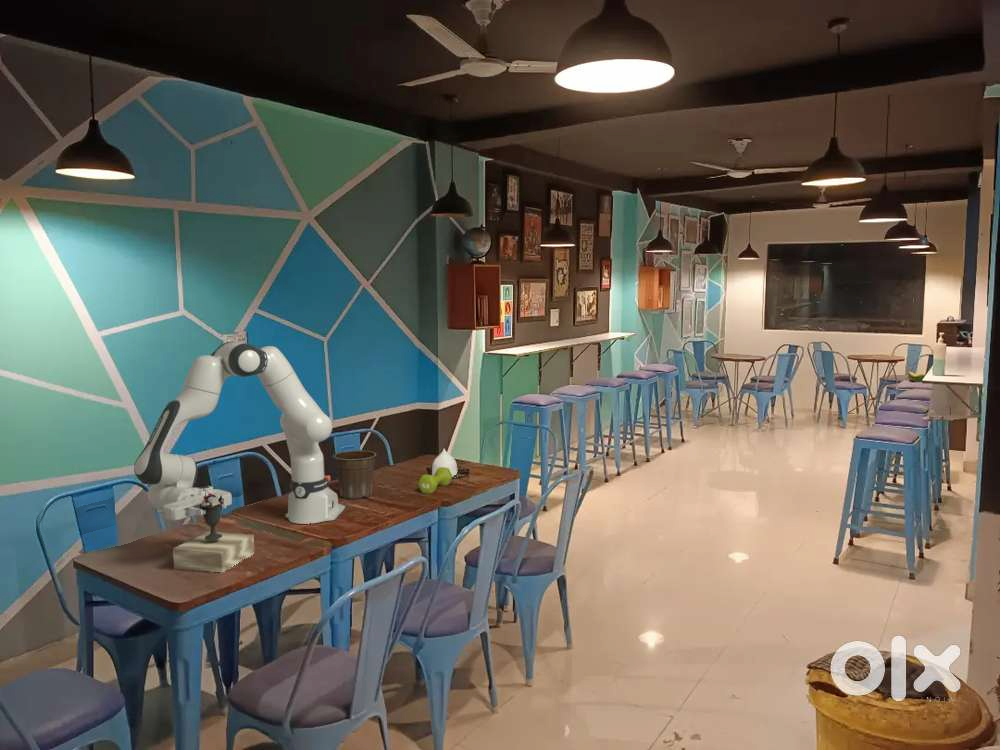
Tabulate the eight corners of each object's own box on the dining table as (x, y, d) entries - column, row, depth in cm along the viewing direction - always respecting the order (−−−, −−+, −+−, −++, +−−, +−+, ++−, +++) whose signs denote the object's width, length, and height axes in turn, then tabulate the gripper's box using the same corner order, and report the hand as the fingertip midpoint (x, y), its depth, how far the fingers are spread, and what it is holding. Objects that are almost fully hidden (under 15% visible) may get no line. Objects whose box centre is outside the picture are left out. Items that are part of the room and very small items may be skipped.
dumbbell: (434, 495, 290) (433, 477, 290) (416, 493, 294) (416, 475, 293) (454, 485, 305) (454, 467, 304) (437, 483, 308) (436, 466, 308)
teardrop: (439, 471, 328) (438, 444, 326) (462, 473, 323) (461, 446, 322) (427, 477, 318) (426, 449, 316) (450, 479, 313) (450, 451, 312)
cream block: (208, 550, 232) (207, 531, 231) (254, 553, 228) (253, 534, 227) (174, 568, 217) (172, 548, 216) (222, 573, 213) (221, 552, 212)
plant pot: (378, 488, 301) (377, 449, 299) (376, 499, 285) (375, 458, 283) (337, 490, 299) (335, 451, 297) (333, 502, 283) (331, 460, 281)
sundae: (196, 540, 219) (193, 490, 217) (208, 533, 225) (205, 484, 223) (218, 541, 218) (215, 490, 216) (229, 533, 224) (226, 484, 223)
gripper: (153, 500, 219) (180, 507, 211) (214, 484, 236) (242, 490, 228) (154, 521, 220) (182, 529, 212) (215, 504, 236) (243, 511, 229)
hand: (213, 509), depth 220 cm, fingers closed on sundae, 5 cm apart
